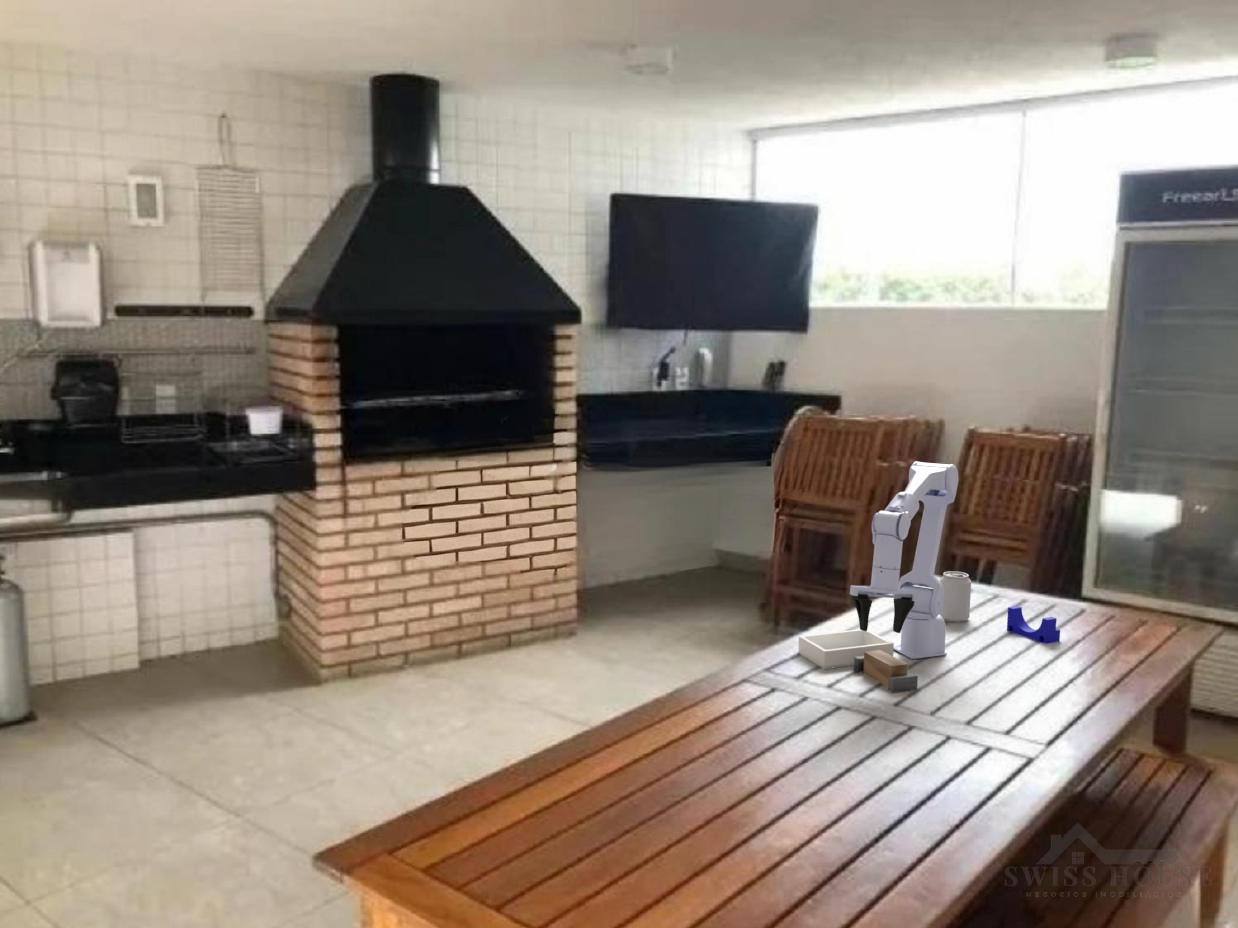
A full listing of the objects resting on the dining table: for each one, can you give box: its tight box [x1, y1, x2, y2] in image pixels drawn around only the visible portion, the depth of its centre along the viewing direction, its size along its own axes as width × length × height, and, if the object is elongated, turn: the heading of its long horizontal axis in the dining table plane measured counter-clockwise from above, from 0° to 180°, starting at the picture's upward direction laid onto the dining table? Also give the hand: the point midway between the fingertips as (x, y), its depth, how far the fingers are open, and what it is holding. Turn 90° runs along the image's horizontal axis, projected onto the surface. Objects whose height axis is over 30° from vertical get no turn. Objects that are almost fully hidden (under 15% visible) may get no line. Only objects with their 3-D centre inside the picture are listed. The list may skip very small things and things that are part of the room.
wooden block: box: [863, 650, 909, 688], centre depth 223 cm, size 4×10×5 cm, turn 20°
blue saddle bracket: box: [1006, 605, 1061, 645], centre depth 254 cm, size 12×4×6 cm, turn 26°
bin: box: [798, 628, 895, 670], centre depth 238 cm, size 18×12×4 cm, turn 109°
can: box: [939, 570, 972, 623], centre depth 267 cm, size 8×8×12 cm
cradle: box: [853, 656, 919, 694], centre depth 223 cm, size 6×15×3 cm, turn 19°
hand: (880, 631), depth 223 cm, fingers open, 7 cm apart
